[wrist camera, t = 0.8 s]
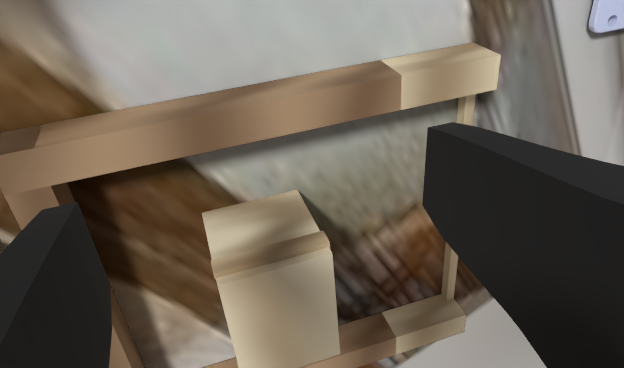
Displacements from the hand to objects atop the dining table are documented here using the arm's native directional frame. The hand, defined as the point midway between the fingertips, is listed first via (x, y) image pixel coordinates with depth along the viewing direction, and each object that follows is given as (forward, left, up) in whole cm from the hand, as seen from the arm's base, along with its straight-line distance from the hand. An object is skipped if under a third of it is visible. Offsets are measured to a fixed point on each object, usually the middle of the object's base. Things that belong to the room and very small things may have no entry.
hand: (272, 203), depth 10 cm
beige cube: (-1, +10, -10) cm, 14 cm away
